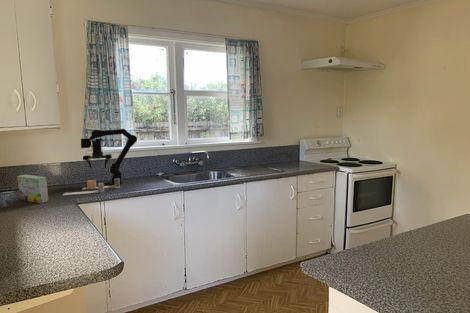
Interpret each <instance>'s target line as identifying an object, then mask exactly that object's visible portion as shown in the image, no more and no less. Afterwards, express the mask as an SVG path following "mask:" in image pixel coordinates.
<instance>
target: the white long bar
mask: <svg viewBox="0 0 470 313" xmlns="http://www.w3.org/2000/svg"><path fill="white" fill-rule="evenodd" d="M104 186H105V184H104V182H99V183H97V187H98V188H97V190H87V191H86V190H85V191H73V192H64V193H63V194H62V196H68V195H72V196H73V195H83V194H84V195H85V194H97V193H103V192H104V191H105V188H104Z"/></svg>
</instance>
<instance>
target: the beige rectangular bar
mask: <svg viewBox="0 0 470 313" xmlns="http://www.w3.org/2000/svg"><path fill="white" fill-rule="evenodd" d="M120 187H121V184H120V181H119V178H116V179H114V184H113V185H104V189H107V190H110V189H111V190H112V189H120ZM94 189H95V190H96V189H97V190H98V186H96V188H94ZM94 189H93V190H94ZM82 190H88V189H87V187H83V188H82V189H81V191H82Z"/></svg>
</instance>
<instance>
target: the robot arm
mask: <svg viewBox="0 0 470 313" xmlns="http://www.w3.org/2000/svg"><path fill="white" fill-rule="evenodd" d="M116 135H123V136H124V137H125V138H127V139H126V142H125V145H124V146H123V148H122V150H121V152H120V153H119V155H118V157H117V158H116V160H115V161H114V162H113V161H111V164H110V165H109V168H108V170H109V172H110V174H112V177H111V184H112V185H115V184H114V179H116V178H119V181H120V185H122V184H123V179H122V177H123V176H122V172H121V171H120V166H121V164H122V162H123V161H124V159H125V157H126V156H127V154H128V152H129V151H130V149H131V148H132V147H133V146H134V145H135V143H137V141H138V137H137V136H136V135H134V134H131V133H130V132H128V131H127V130H126V129H125V128H119V129H109V130H108V129H107V130H106V129H105V130H103V129H93V130H92V131H91V135H90V136H89V138H80V149H90V148H91V147H92V152H91V154H92V155H90V154H88V155H85V154H84V155H83V156H82V160H83V161H85V162H87V163H88V165H89V168H90V169H91V170H93V165H92V160H96V159H98V160H99V159H104V169H107V165H108V162H109V160H111V159H113V156H112V155H113V154H112V153H107V154H104V152H103V150H102V142H103V141H104V139H103V138H102V137H107V136H116Z"/></svg>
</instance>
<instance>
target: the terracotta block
mask: <svg viewBox="0 0 470 313" xmlns="http://www.w3.org/2000/svg"><path fill="white" fill-rule="evenodd" d="M86 186H87V189H86V190H94V188H96V187H97V180H96V179H88V180H87V181H86Z"/></svg>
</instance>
